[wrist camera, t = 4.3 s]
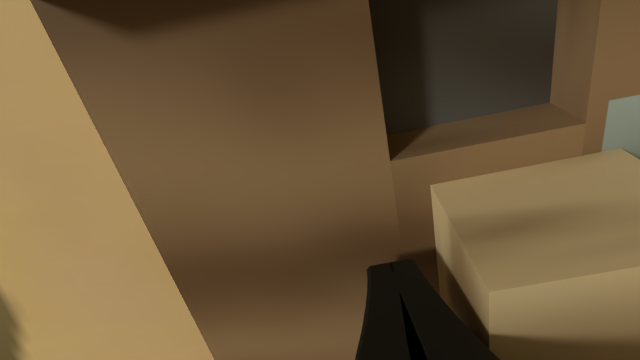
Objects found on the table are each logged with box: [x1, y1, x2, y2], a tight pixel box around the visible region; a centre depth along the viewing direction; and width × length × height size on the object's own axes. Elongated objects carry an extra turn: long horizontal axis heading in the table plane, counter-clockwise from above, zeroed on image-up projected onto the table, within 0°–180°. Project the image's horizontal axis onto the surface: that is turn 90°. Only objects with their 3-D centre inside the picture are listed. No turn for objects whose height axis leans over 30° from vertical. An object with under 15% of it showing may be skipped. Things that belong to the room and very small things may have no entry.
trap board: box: [30, 0, 640, 360], centre depth 12 cm, size 20×20×4 cm
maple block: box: [430, 148, 640, 360], centre depth 10 cm, size 5×5×4 cm
